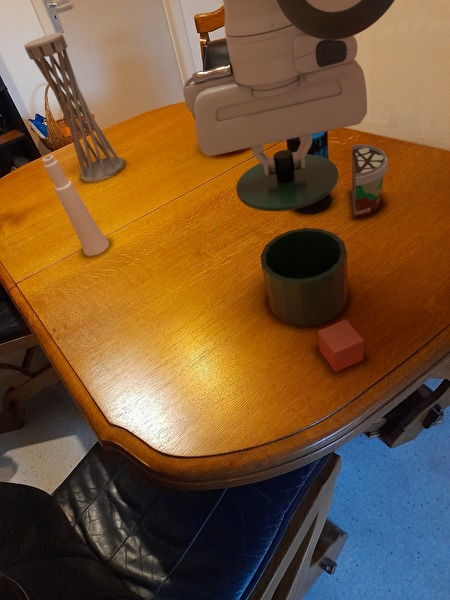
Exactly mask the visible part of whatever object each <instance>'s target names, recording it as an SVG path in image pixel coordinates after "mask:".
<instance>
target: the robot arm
mask: <svg viewBox="0 0 450 600" xmlns="http://www.w3.org/2000/svg"><path fill="white" fill-rule="evenodd" d="M395 1H396V0H222V2H223V6H224V7H223V9H224V34H225V39H226V44H227V50H228V54H229V55H228V56H229V60H230V61H229V62H230V63H228V64H227V63H226V64H224V65H219V66H215V67H213V68H211V69H208V70H199V71H196V72H194V73H191V74H192V77H190V78H188V79H187V80H186V82H185V83H184V85H183V97H184V100H185V105H186V107H187V109H188V111H189V112H190V113H191V114H192V113H193V114H194V115H195V120H194V124H195V133H196V138H197V142H198V148H199V150H200V152H202V153H203V155H205V156H207V157H213V156H216V155H223V154H228V153H227V152H230V153H233V152H232V151H235V152H237V151H236V150H238V151H241V150H245V149H250V148H251V150H252V155H253V157H254V158H255V159H256V160H257V161H258V162H259V163H261V164H262V165H264V170H265V176H269V175H273V174H276V168H275V161H274V156H269V157H268V156H267V155H266V154H265V153H264V145H269V144H272V143H273V144H274V143H278V142H282V141H286V140H288V139H292V138H297V137H299V138H300V142H301V144H300V146H299V149H298V151H297V152H293V153H292V155H293V166H294V170H298V169H303V168H305V157H304V156H306V154H307V152H308V150H309V148H310V146H311V144H312V134H316V133H320V132H325V131H328V132H331V131H333V130H339V129H344V128H348V127H352V126H357V125H360V124H361V123H362V122H363V120H364V119H365V117H366V116H367V114H368V95H367V94H368V93H367V85H366V78H365V73H364V70H363V68H362V66H361V65H360V64H359V62H358V61H357V60H356V58H357V55H358V42H357V38H356V35H358V34H360V33H362V32H363V31H365V30H367V29H368V28H370V27H372V26H373V25H374V24H375V23H376V22H378V21H379V20H380V19H381V18H382V17H383V16H384V15H385V14H386V13H387V11H388V10H390V8H391V6H392V5H393V4H394V2H395ZM232 75H233V76H232ZM193 114H192V115H193Z"/></svg>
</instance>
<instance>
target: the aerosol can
mask: <svg viewBox="0 0 450 600" xmlns="http://www.w3.org/2000/svg"><path fill="white" fill-rule="evenodd" d="M328 132H329V131H325V132H320V133H316V134H312V144H311V146H310V148H309V150H308V152H307V154H309V155H316V156H320V157H323V158H326V159H328V160H330V159H329V158H330V157H329V156H330V155H329V135H328ZM285 141H286V150H290V151H291V152H292V153H293V152H297V151H298V149H299V146H300V144H301V142H300V138H299V137H297V138H292V139H288V140H285ZM331 204H332V197H331V192H330V193H329V194H328V195H327V196H325V197H324V198H322V199H321V200H319V201H317V202H315V203H313V204H310V205H308V206H305V207H301V208H298V209H294V210H295V211H296V212H298V213H301V214H315V213H321V212H322V211H324V210H326V209H328V208H329V206H330V205H331Z"/></svg>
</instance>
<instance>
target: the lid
mask: <svg viewBox="0 0 450 600" xmlns="http://www.w3.org/2000/svg"><path fill="white" fill-rule="evenodd" d="M273 157H274V161H275V168H276V174H273V175H269V176H265V170H264V165H262V164H261V163H260V162H259V163H257V164H255V165H253V166H252V167H250V168H249V169H247V170H246V171H245V172H244V173H243V174H242V175H241V176H240V178H239V179H238V181H237V183H236V185H235V187H236V188H235V191H236V195H237V197H238V199H239V200H240V202H241V203H242V204H244V205H245V206H246V207H249V208H251V209H253V210H258V211H262V212H263V211H264V212H285V211H286V212H287V211H292V210H295V209H298V208H301V207H305V206H308V205H310V204H313V203H315V202H317V201H319V200H321V199H322V198H324V197H325V196H327V195H328V194H329V193H330V194H331V193H332V192H333V191H334V189H335V188H336V186H337V185H338V182H339V170H338V167H337V165H336V164H335V163H334V162H333V161H331V160H330V159H329V160H328V159H326V158H323V157H320V156H316V155H309V154H306V156H304V157H305V168H303V169H298V170H294V166H293V155H292V152H291V151H290V150H287V149H281V150H279V151H276V152H275V153H273Z"/></svg>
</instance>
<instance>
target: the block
mask: <svg viewBox="0 0 450 600" xmlns="http://www.w3.org/2000/svg"><path fill="white" fill-rule="evenodd" d="M317 335H318V337H317V338H318V350H319V352H320V353H321V355H322V356H323V358H324V359H325V360H326V362H327V363H328V364H329V366H330V367H331V368H332V370H333V372H335V373H338V372H339V371H342V370H344V369H346V368H349V367H351V366H353V365H355V364H357V363H360V362H363V360H364V350H365V349H364V347H365V340H364V338H363V337H362V336H361V335H360V333H358V332H357V331H356V329H355V328H354V326H352V325H351V323H350V322H349V321H348V320H347V319H346V318H345V319H343V320H340V321H338V322H336V323H334V324H331V325H329V326H326V327H325V328H322V329H319V330H317Z"/></svg>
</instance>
